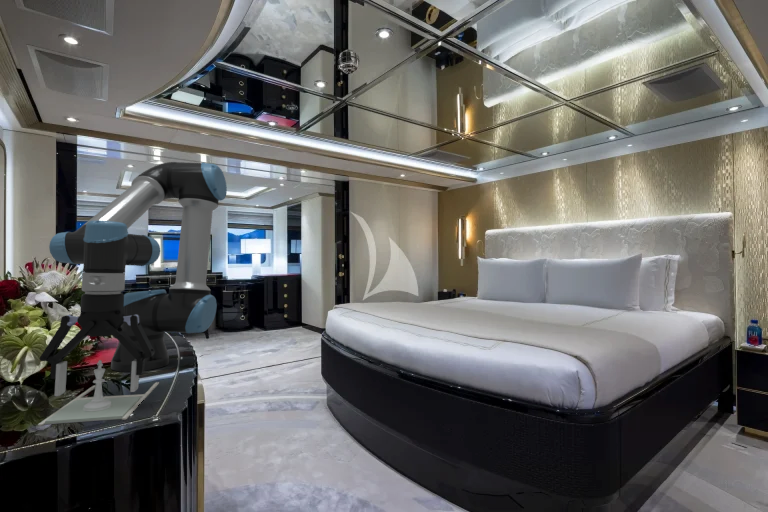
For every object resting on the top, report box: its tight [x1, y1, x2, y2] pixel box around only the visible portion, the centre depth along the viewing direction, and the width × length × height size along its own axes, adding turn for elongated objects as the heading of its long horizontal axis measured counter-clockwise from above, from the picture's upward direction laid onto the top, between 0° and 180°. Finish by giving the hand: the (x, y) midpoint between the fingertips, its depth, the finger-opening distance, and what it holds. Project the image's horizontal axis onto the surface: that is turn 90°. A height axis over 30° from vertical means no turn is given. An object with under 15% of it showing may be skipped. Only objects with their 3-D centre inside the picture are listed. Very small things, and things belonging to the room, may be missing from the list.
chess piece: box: [83, 359, 112, 412], centre depth 83 cm, size 5×5×10 cm
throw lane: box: [37, 381, 160, 427], centre depth 88 cm, size 25×15×1 cm, turn 17°
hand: (98, 392), depth 83 cm, fingers open, 13 cm apart
